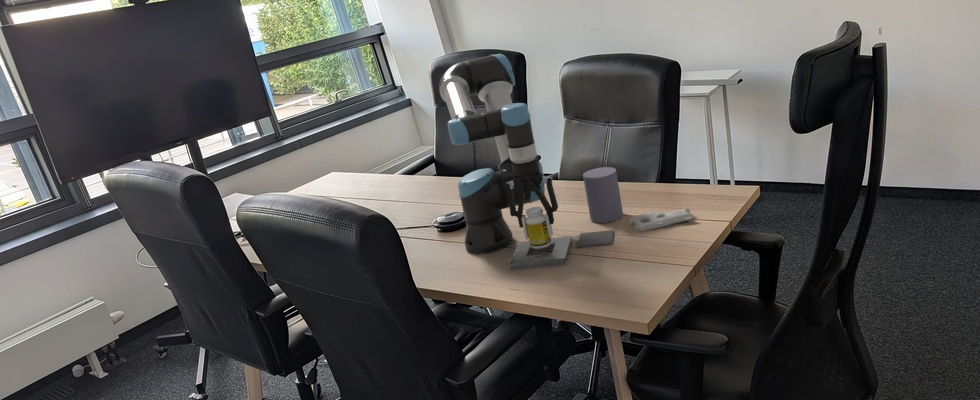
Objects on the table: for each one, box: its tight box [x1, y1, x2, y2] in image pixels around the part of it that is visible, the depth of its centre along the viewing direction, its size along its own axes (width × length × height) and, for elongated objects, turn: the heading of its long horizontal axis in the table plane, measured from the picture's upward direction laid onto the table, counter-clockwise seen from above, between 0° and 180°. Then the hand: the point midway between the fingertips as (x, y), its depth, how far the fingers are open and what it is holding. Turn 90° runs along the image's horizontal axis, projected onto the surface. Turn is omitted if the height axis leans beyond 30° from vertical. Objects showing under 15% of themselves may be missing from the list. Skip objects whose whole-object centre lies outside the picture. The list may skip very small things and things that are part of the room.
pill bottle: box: [525, 206, 551, 249], centre depth 213 cm, size 6×6×11 cm
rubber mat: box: [576, 229, 615, 249], centre depth 219 cm, size 10×10×1 cm
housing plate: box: [508, 235, 573, 271], centre depth 216 cm, size 16×16×2 cm
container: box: [582, 166, 624, 224], centre depth 233 cm, size 10×10×15 cm
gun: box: [628, 208, 695, 232], centre depth 222 cm, size 18×3×10 cm
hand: (539, 235), depth 214 cm, fingers closed on pill bottle, 6 cm apart
